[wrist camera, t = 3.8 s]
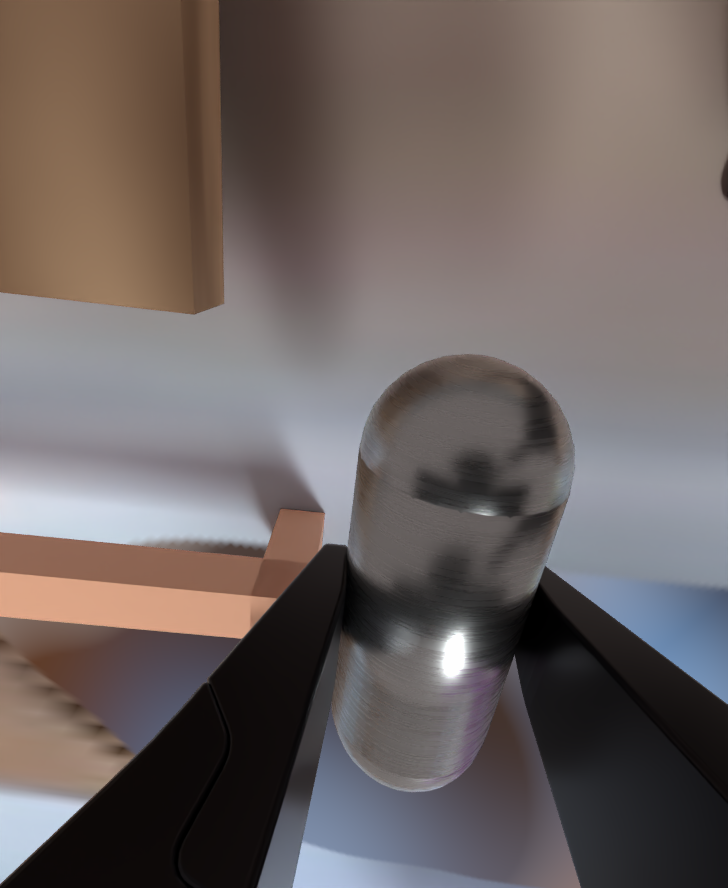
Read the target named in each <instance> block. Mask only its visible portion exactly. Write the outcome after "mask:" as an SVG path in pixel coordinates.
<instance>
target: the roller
mask: <svg viewBox="0 0 728 888" xmlns="http://www.w3.org/2000/svg"><path fill="white" fill-rule="evenodd" d="M574 470H575V453H574V444H573V440H572V436H571V432H570V428H569V425H568V422H567V420H566V418H565V416H564V414H563V412H562V410H561V408H560V406H559V404H558V403H557V401H556V400H555V399H554V398H553V397H552V395H551V394H550V393H549V392H548V391H547V390H546V388H545V387H544V386H543V385H542V384H541V383H540V382H539V381H537V380H536V379H535V378H533V377H532V376H531V375H529V374H528V373H527V372H525V371H524V370H522V369H521V368H518V367H516V366H514V365H512V364H509V363H507V362H505V361H502V360H500V359H497V358H493V357H489V356H483V355H474V354H466V355H452V356H444V357H441V358H437V359H434V360H431V361H428V362H425V363H422V364H420V365H418V366H417V367H415V368H413V369H411V370H409V371H408V372H406V373H404V374H403V375H402V376H401V377H399V378H398V379H397V380H396V381H395V382H394V383H393V384H391V385H390V386H389V387H388V388H387V389H386V390H385V391H384V393H383V394H382V395H381V397H380V398H379V399H378V401H377V402H376V403H375V405H374V406H373V408H372V410H371V412H370V415H369V417H368V419H367V421H366V423H365V427H364V430H363V435H362V439H361V443H360V448H359V456H358V464H357V473H356V481H355V489H354V498H353V506H352V515H351V523H350V532H349V540H348V549H347V562H348V570H347V587H346V596H345V604H344V612H343V621H342V629H341V637H340V646H339V654H338V662H337V671H336V679H335V685H334V691H333V696H332V714H333V718H334V723H335V727H336V730H337V732H338V734H339V737H340V739H341V742H342V744H343V746H344V748H345V750H346V751H347V753H348V754H349V756H350V757H351V759H352V760H353V761H354V762H355V763H356V764H357V765H358V766H359V767H360V768H361V769H362V770H363V771H364V772H365V773H366V774H367V775H368V776H370V777H371V778H373V779H374V780H376V781H377V782H379V783H380V784H382V785H385V786H387V787H389V788H392V789H395V790H400V791H405V792H427V791H431V790H435V789H438V788H442V787H443V786H445V785H447V784H448V783H450V782H452V781H454V780H455V779H456V778H458V777H459V776H460V775H461V774H462V773H463V772H464V771H465V770H466V769H467V768H468V767H469V766H470V765H471V764H472V763H473V761H474V759H475V757H476V756H477V754H478V752H479V751H480V749H481V747H482V745H483V743H484V741H485V738H486V736H487V732H488V729H489V727H490V724H491V721H492V718H493V715H494V712H495V709H496V706H497V704H498V700H499V698H500V695H501V692H502V689H503V686H504V683H505V680H506V677H507V674H508V671H509V669H510V666H511V663H512V660H513V657H514V654H515V651H516V648H517V646H518V643H519V640H520V637H521V634H522V631H523V628H524V625H525V622H526V619H527V617H528V614H529V611H530V608H531V605H532V602H533V599H534V596H535V593H536V590H537V587H538V585H539V582H540V579H541V576H542V573H543V570H544V567H545V564H546V561H547V558H548V556H549V553H550V550H551V547H552V544H553V541H554V538H555V535H556V532H557V529H558V527H559V524H560V521H561V518H562V515H563V512H564V509H565V506H566V503H567V500H568V498H569V495H570V488H571V484H572V479H573V474H574Z"/></svg>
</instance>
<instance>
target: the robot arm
mask: <svg viewBox="0 0 728 888" xmlns="http://www.w3.org/2000/svg"><path fill="white" fill-rule="evenodd" d="M347 549H348V547H347V546H346V545H338V544H325V545H324V546H323V547H322V548H321V549H320V550H319V551H318V553H317V554H316V555H315V556H314V557H313V558H312V559H311V561H310V562H309V563H308V564H307V565H306V566H305V567H304V569H303V570H302V571H301V572H300V573H299V574H298V575H297V577H296V578H295V579H294V580H293V581H292V582H291V583H290V585H289V586H288V587H287V588H286V589H285V590H284V591H283V593H282V594H281V595H280V596H279V597H278V598H277V599H276V601H275V602H274V603H273V604H272V605H271V606H270V607H269V609H268V610H267V611H266V612H265V613H264V614H263V615H262V617H261V618H260V619H259V620H258V621H257V622H256V623H255V625H254V626H253V627H252V628H251V629H250V630H249V631H248V633H247V634H246V635H245V636H244V637H243V638H242V640H241V641H240V642H239V643H238V644H237V645H236V646H235V647H234V649H233V650H232V651H231V652H230V653H229V654H228V655H227V657H226V658H225V659H224V660H223V661H222V662H221V663H220V665H219V666H218V667H217V668H216V669H215V670H214V671H213V673H212V674H211V675H210V676H209V677H208V679H207V682H204V683H203V684H202V685H201V686H200V687H199V688H198V689H197V690H196V692H195V693H194V694H193V695H192V696H191V698H190V699H189V700H188V701H187V702H186V703H185V704H184V705H183V707H182V708H181V709H180V710H179V711H178V712H177V713H176V714H175V715H174V716H173V717H172V718H171V720H170V721H169V722H168V723H167V724H166V725H165V726H164V727H163V728H162V729H161V730H160V731H159V732H158V734H157V735H156V736H155V737H154V738H153V739H152V740H151V741H150V742H149V743H148V744H147V745H146V746H145V747H144V748H143V749H142V750H141V751H140V752H139V753H138V754H137V755H136V756H135V757H134V758H133V759H132V760H131V761H130V762H129V763H128V764H127V765H126V766H125V767H124V768H122V769H121V770H120V771H119V772H118V773H117V774H116V775H115V776H114V777H113V778H112V779H111V780H110V781H109V782H108V783H107V784H106V785H105V786H104V787H103V788H102V789H101V790H100V791H99V792H98V793H96V794H95V795H94V796H93V797H92V798H91V799H90V800H89V801H88V802H87V803H86V804H85V805H84V806H83V807H82V808H81V809H79V810H78V811H77V812H76V813H75V814H74V815H73V816H72V817H71V818H70V819H69V820H68V821H67V822H66V823H65V824H64V825H62V826H61V827H60V828H59V829H58V830H57V831H56V832H55V833H54V834H53V835H52V836H51V837H50V838H49V839H48V840H47V841H46V842H44V843H43V844H42V845H41V846H40V847H39V848H38V849H37V850H36V851H35V852H34V853H33V854H32V855H31V856H30V857H29V858H27V859H26V860H25V861H24V862H23V863H22V864H21V865H20V866H19V867H18V868H17V869H16V870H15V871H14V872H13V873H12V874H10V875H9V876H8V877H7V878H6V879H5V880H4V881H3V882H2V883H1V884H0V888H292V887H293V882H294V877H295V873H296V868H297V863H298V858H299V853H300V849H301V844H302V839H303V834H304V830H305V824H306V820H307V815H308V810H309V806H310V801H311V796H312V791H313V787H314V782H315V777H316V772H317V768H318V763H319V758H320V753H321V748H322V743H323V739H324V734H325V729H326V725H327V720H328V715H329V710H330V705H331V701H332V696H333V691H334V685H335V679H336V671H337V662H338V654H339V646H340V637H341V629H342V621H343V612H344V604H345V596H346V587H347V570H348V562H347ZM515 658H516V663H517V669H518V674H519V679H520V684H521V688H522V693H523V697H524V701H525V704H526V708H527V711H528V715H529V718H530V722H531V725H532V728H533V732H534V735H535V738H536V741H537V745H538V748H539V751H540V755H541V757H542V761H543V764H544V768H545V771H546V774H547V778H548V781H549V784H550V787H551V791H552V794H553V797H554V800H555V804H556V807H557V810H558V813H559V817H560V820H561V824H562V827H563V830H564V833H565V837H566V840H567V843H568V847H569V850H570V853H571V856H572V860H573V863H574V866H575V870H576V873H577V876H578V879H579V882H580V886H581V888H728V704H726V703H725V702H724V701H722V700H721V699H720V698H719V697H717V696H716V695H714V694H713V693H712V692H711V691H709V690H708V689H707V688H705V687H704V686H703V685H701V684H700V683H699V682H697V681H696V680H695V679H693V678H692V677H691V676H689V675H688V674H687V673H686V672H684V671H683V670H682V669H680V668H679V667H678V666H676V665H675V664H674V663H672V662H671V661H670V660H668V659H667V658H666V657H664V656H663V655H662V654H660V653H659V652H658V651H656V650H655V649H654V648H652V647H651V646H650V645H649V644H647V643H646V642H645V641H643V640H642V639H641V638H639V637H638V636H637V635H635V634H634V633H633V632H631V631H630V630H629V629H627V628H626V627H625V626H624V625H622V624H621V623H620V622H618V621H617V620H616V619H614V618H613V617H612V616H610V615H609V614H608V613H606V612H605V611H604V610H602V609H601V608H600V607H598V606H597V605H596V604H594V603H593V602H592V601H591V600H589V599H588V598H586V597H585V596H584V595H583V594H581V593H580V592H579V591H577V590H576V589H575V588H573V587H572V586H571V585H569V584H568V583H567V582H565V581H564V580H563V579H562V578H560V577H559V576H558V575H556V574H555V573H554V572H552V571H551V570H550V569H548V568H547V567H546V566H545V567H544V570H543V573H542V576H541V579H540V582H539V585H538V587H537V590H536V593H535V596H534V599H533V602H532V605H531V608H530V611H529V614H528V617H527V619H526V622H525V625H524V628H523V631H522V634H521V637H520V640H519V643H518V646H517V648H516V651H515Z"/></svg>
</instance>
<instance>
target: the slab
mask: <svg viewBox="0 0 728 888" xmlns="http://www.w3.org/2000/svg"><path fill="white" fill-rule="evenodd" d="M0 292H3V293H12V294H21V295H29V296H38V297H47V298H56V299H64V300H73V301H82V302H90V303H99V304H108V305H117V306H125V307H134V308H143V309H151V310H160V311H169V312H178V313H186V314H197V313H199V312H202V311H205V310H208V309H210V308H213V307H216V306H219V305H221V304H224V274H223V215H222V156H221V97H220V38H219V0H0Z"/></svg>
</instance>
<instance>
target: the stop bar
mask: <svg viewBox="0 0 728 888" xmlns="http://www.w3.org/2000/svg"><path fill="white" fill-rule="evenodd" d="M324 516H325V513H320V512H310V511H300V510H290V509H280V512H279V515H278V518H277V520H276V523H275V526H274V529H273V532H272V535H271V538H270V540H269V543H268V546H267V549H266V552H265V555H264V558H257V557H247V556H237V555H226V554H216V553H206V552H196V551H185V550H176V549H165V548H155V547H145V546H135V545H125V544H114V543H104V542H94V541H84V540H74V539H63V538H53V537H43V536H33V535H22V534H12V533H2V532H0V616H3V617H13V618H24V619H35V620H46V621H57V622H67V623H79V624H90V625H99V626H111V627H122V628H132V629H143V630H155V631H165V632H176V633H188V634H198V635H208V636H219V637H231V638H241V639H242V638H243V637H244V636H245V635H246V634H247V633H248V631H249V630H250V629H251V628H252V627H253V626H254V625H255V623H256V622H257V621H258V620H259V619H260V618H261V617H262V615H263V614H264V613H265V612H266V611H267V610H268V609H269V607H270V606H271V605H272V604H273V603H274V602H275V601H276V599H277V598H278V597H279V596H280V595H281V594H282V593H283V591H284V590H285V589H286V588H287V587H288V586H289V585H290V583H291V582H292V581H293V580H294V579H295V578H296V577H297V575H298V574H299V573H300V572H301V571H302V570H303V569H304V567H305V566H306V565H307V564H308V563H309V562H310V561H311V559H312V558H313V557H314V556H315V555H316V554H317V553H318V551H319V550H320V549H321V548H322V539H323V528H324Z"/></svg>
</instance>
